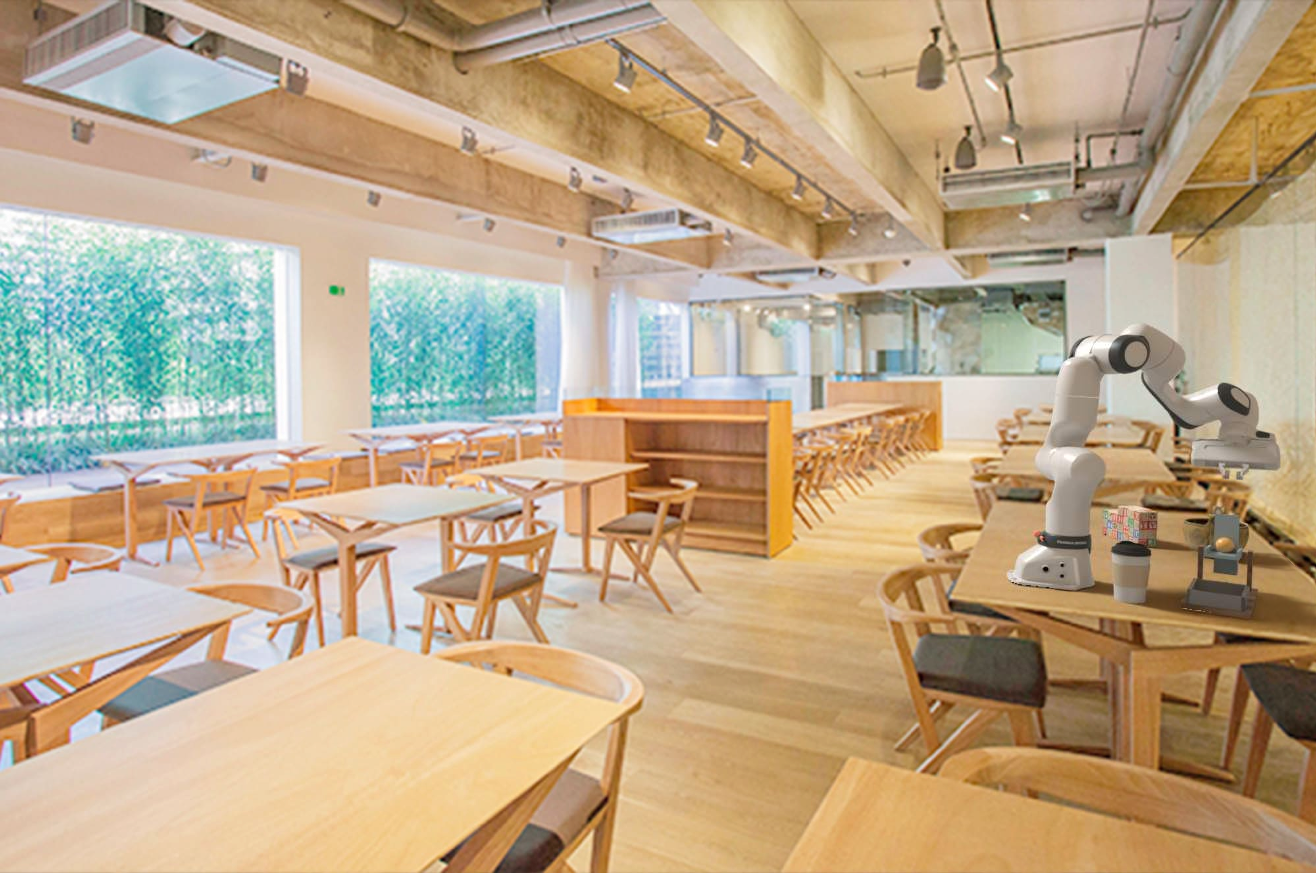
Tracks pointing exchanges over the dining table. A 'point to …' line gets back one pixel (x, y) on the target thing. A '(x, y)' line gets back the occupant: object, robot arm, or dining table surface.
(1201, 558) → the walnut lever base
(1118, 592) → the coffee cup
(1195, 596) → the bin
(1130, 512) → the stack of blocks
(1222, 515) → the tipping lever
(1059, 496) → the robot arm
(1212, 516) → the ceramic bowl
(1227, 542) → the orange ball
